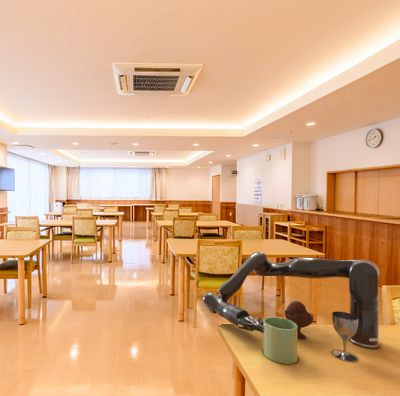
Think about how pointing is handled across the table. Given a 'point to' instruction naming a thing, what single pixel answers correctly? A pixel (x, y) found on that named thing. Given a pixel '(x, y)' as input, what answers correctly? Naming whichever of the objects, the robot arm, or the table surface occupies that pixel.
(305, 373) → the table surface
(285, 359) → the tumbler
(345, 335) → the wine glass
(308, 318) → the ice cream bowl
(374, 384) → the table surface
